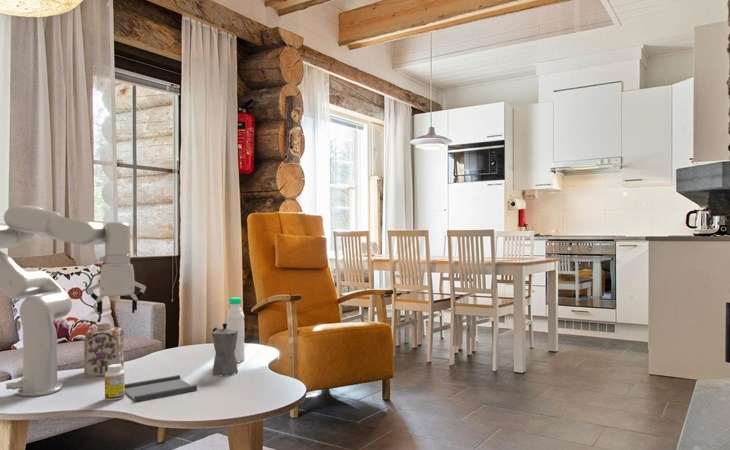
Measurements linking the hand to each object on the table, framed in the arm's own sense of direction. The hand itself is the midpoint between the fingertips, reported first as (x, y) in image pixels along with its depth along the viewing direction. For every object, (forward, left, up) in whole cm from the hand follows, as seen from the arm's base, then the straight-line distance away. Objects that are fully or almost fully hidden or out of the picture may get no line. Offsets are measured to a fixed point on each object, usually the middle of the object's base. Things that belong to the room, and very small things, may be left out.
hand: (117, 313), depth 177 cm
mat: (+11, -7, -25) cm, 28 cm away
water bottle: (+48, +15, -26) cm, 56 cm away
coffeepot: (+37, +1, -26) cm, 45 cm away
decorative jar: (+3, +29, -26) cm, 39 cm away
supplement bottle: (-2, -7, -26) cm, 27 cm away
